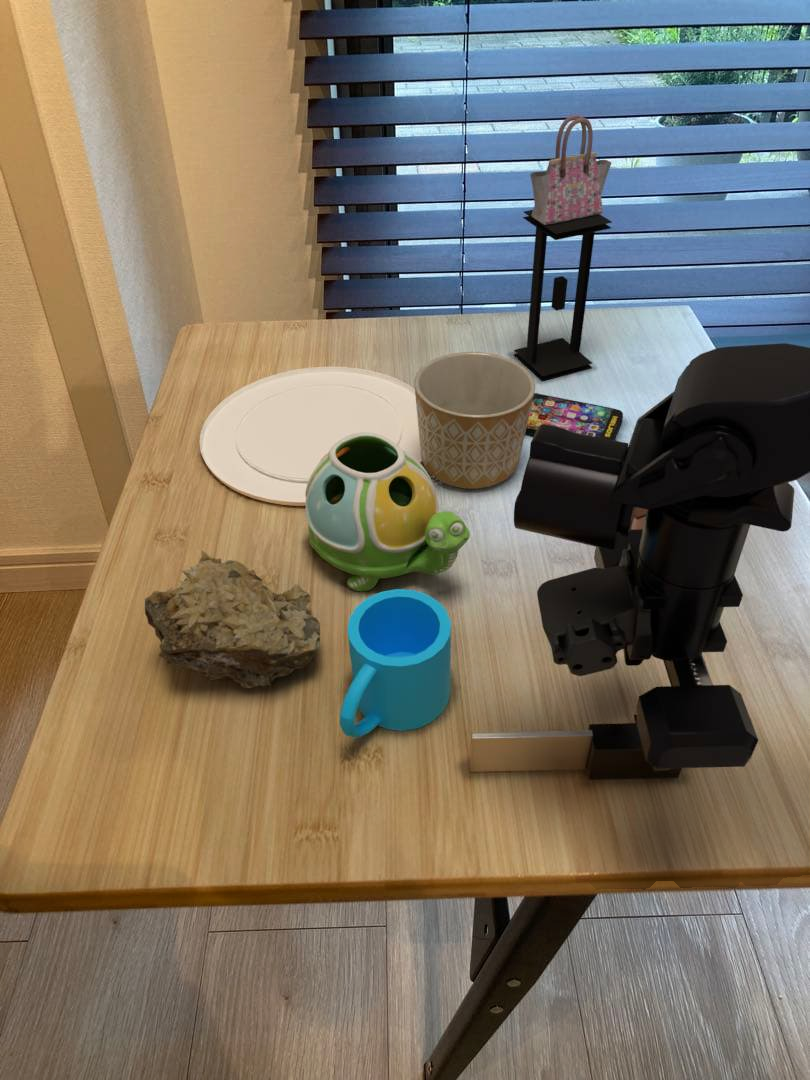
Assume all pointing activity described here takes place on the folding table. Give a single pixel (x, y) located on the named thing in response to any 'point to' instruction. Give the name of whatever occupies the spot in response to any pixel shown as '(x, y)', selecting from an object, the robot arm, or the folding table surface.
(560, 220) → the handbag
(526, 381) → the planter
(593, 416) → the smartphone
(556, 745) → the knife
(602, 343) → the folding table surface
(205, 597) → the mineral specimen
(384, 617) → the mug
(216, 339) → the folding table surface
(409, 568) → the turtle holder
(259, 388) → the plate
